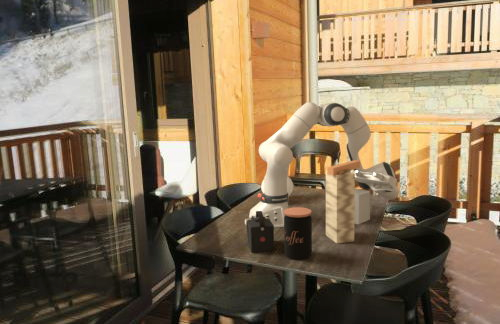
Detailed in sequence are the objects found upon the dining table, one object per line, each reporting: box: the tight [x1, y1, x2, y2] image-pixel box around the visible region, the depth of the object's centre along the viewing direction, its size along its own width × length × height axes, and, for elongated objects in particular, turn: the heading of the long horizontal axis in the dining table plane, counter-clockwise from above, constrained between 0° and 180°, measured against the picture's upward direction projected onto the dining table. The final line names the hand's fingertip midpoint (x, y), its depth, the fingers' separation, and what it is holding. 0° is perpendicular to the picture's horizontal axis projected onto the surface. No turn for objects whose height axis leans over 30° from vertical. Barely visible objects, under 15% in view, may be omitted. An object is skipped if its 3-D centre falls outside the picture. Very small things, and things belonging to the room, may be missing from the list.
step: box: [354, 188, 371, 225], centre depth 219 cm, size 10×10×14 cm
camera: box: [245, 211, 275, 253], centre depth 188 cm, size 11×14×15 cm
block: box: [326, 160, 361, 175], centre depth 193 cm, size 20×3×3 cm, turn 135°
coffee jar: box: [283, 206, 313, 261], centre depth 177 cm, size 11×11×18 cm
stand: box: [325, 169, 356, 244], centre depth 193 cm, size 10×11×30 cm
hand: (365, 172), depth 205 cm, fingers open, 8 cm apart
